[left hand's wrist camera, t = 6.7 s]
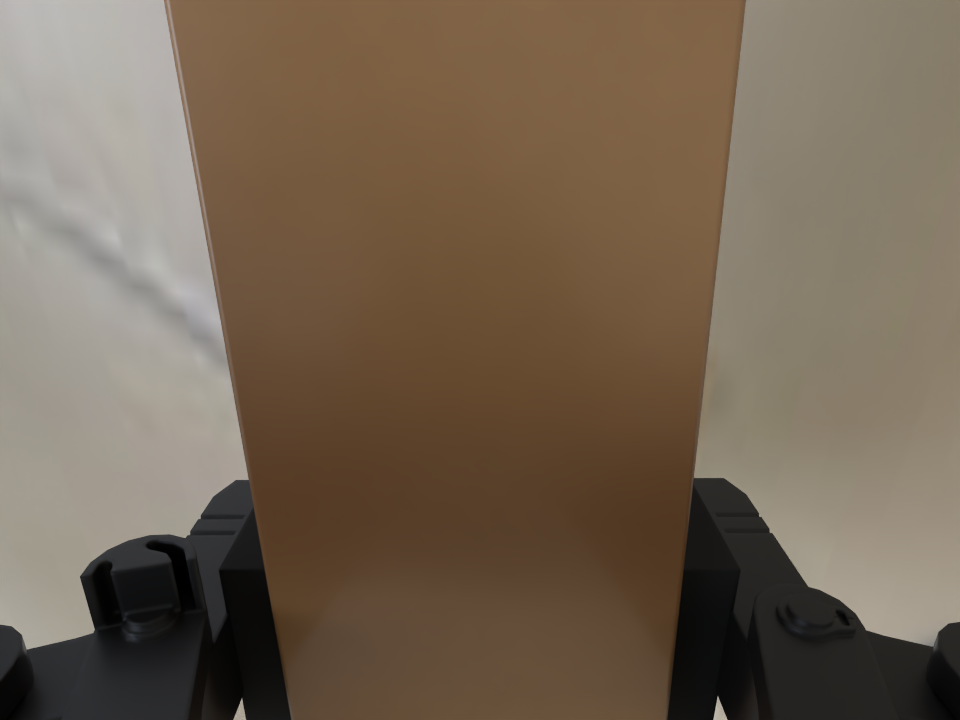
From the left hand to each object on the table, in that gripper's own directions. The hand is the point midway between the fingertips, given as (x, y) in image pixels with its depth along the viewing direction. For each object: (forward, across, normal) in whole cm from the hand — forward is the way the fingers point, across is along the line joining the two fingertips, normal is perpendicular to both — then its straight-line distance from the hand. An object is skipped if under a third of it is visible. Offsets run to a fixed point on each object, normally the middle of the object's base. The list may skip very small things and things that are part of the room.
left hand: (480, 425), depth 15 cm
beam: (+1, +1, -28) cm, 28 cm away
